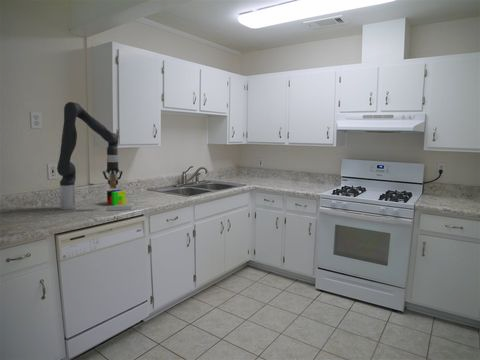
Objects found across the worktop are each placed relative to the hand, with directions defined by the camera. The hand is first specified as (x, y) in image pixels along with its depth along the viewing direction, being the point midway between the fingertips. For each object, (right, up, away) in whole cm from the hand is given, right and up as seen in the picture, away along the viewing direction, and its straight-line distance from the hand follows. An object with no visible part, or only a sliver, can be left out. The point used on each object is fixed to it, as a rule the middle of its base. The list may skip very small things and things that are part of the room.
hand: (113, 184), depth 235 cm
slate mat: (+3, -17, +4) cm, 18 cm away
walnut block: (0, -2, 0) cm, 2 cm away
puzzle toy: (-5, -15, +20) cm, 25 cm away
